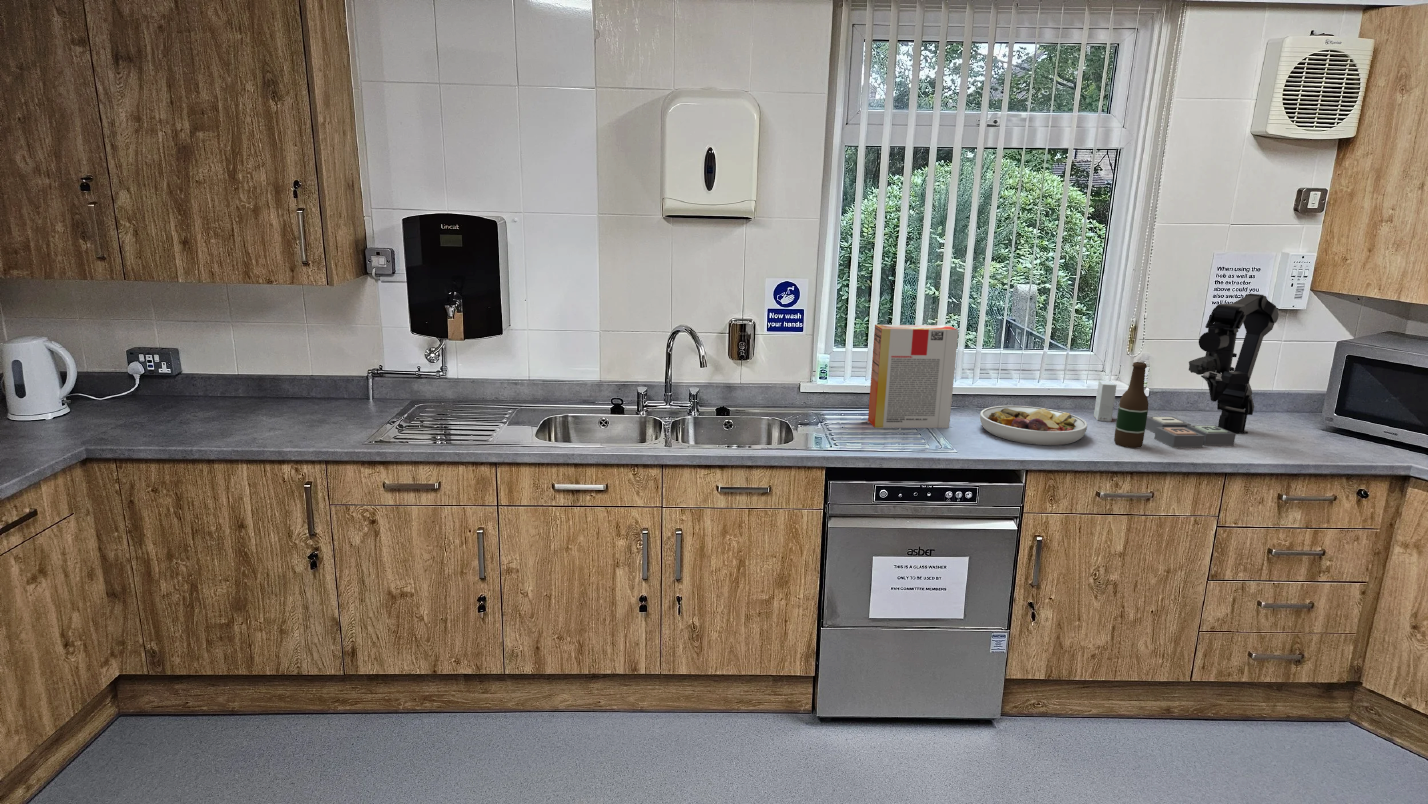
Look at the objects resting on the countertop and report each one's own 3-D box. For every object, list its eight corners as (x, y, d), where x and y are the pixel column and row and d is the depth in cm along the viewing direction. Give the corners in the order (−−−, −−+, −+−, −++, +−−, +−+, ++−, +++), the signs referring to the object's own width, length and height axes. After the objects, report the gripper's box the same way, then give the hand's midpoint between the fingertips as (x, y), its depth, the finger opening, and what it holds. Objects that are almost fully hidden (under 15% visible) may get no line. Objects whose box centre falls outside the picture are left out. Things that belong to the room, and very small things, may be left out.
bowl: (974, 417, 273) (977, 393, 271) (1074, 425, 267) (1077, 400, 265) (983, 443, 244) (986, 417, 242) (1095, 452, 238) (1098, 425, 236)
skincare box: (1111, 421, 271) (1117, 385, 268) (1097, 420, 271) (1102, 384, 268) (1107, 417, 276) (1112, 381, 273) (1093, 416, 277) (1098, 380, 274)
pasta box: (940, 420, 266) (949, 325, 259) (948, 427, 259) (958, 329, 251) (867, 420, 265) (874, 324, 257) (874, 427, 257) (881, 328, 250)
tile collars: (1192, 427, 266) (1193, 416, 265) (1238, 447, 246) (1240, 435, 245) (1131, 427, 264) (1132, 416, 263) (1172, 447, 244) (1174, 435, 243)
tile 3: (1182, 435, 251) (1183, 427, 251) (1195, 441, 246) (1196, 432, 245) (1162, 435, 251) (1164, 427, 250) (1175, 441, 245) (1176, 432, 244)
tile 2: (1212, 433, 254) (1214, 425, 254) (1226, 439, 249) (1227, 430, 248) (1193, 433, 254) (1195, 425, 253) (1206, 439, 248) (1208, 430, 247)
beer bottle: (1107, 440, 249) (1119, 360, 244) (1133, 440, 250) (1145, 360, 244) (1122, 448, 242) (1134, 365, 236) (1148, 448, 243) (1161, 365, 237)
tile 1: (1170, 424, 263) (1171, 416, 263) (1182, 429, 258) (1183, 421, 257) (1151, 424, 263) (1152, 416, 262) (1163, 430, 257) (1164, 421, 256)
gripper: (1176, 342, 254) (1168, 393, 258) (1218, 354, 236) (1209, 409, 240) (1211, 343, 255) (1202, 393, 259) (1255, 354, 237) (1245, 409, 241)
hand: (1213, 401), depth 250 cm, fingers closed
